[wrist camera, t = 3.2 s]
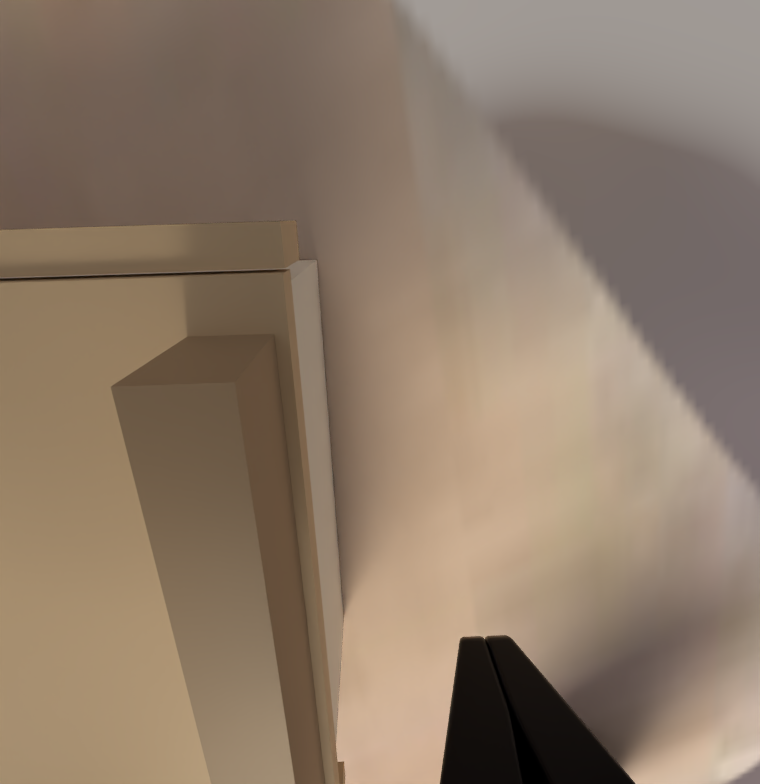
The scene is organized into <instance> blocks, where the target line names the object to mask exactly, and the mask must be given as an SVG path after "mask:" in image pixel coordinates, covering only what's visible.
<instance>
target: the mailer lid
mask: <svg viewBox="0 0 760 784" xmlns="http://www.w3.org/2000/svg"><path fill="white" fill-rule="evenodd" d="M298 260H300V259H299V247H298V236H297V225H296V221H264V222H232V223H200V224H168V225H136V226H104V227H72V228H40V229H9V230H0V784H345V769H344V762H337V753H336V742H335V732H334V721H333V711H332V700H331V690H330V680H329V669H328V659H327V648H326V638H325V627H324V617H323V607H322V596H321V586H320V575H319V565H318V555H317V544H316V534H315V523H314V513H313V502H312V492H311V482H310V471H309V461H308V450H307V440H306V429H305V419H304V409H303V398H302V388H301V377H300V367H299V356H298V346H297V336H296V325H295V315H294V304H293V294H292V284H291V273H290V269H279V268H286V267H288V266H290V265H291V264H293V263H295V262H296V261H298ZM249 269H276V270H249ZM218 270H245V271H218ZM187 271H215V272H187ZM156 272H184V273H156ZM125 273H153V274H125ZM94 274H122V275H94ZM63 275H91V276H63ZM33 276H60V277H33ZM2 277H30V278H2Z"/></svg>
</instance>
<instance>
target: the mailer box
mask: <svg viewBox="0 0 760 784" xmlns="http://www.w3.org/2000/svg"><path fill="white" fill-rule="evenodd" d="M279 269H290V273H291V284H292V294H293V304H294V315H295V325H296V336H297V346H298V356H299V367H300V377H301V388H302V398H303V409H304V419H305V429H306V440H307V450H308V461H309V471H310V482H311V492H312V502H313V513H314V523H315V534H316V544H317V555H318V565H319V575H320V586H321V596H322V607H323V617H324V627H325V638H326V648H327V659H328V669H329V680H330V690H331V700H332V711H333V721H334V732H335V742H336V735H337V719H338V703H339V687H340V671H341V655H342V639H343V623H344V614H343V601H342V588H341V574H340V561H339V548H338V535H337V521H336V508H335V495H334V482H333V468H332V455H331V442H330V429H329V415H328V402H327V389H326V375H325V362H324V349H323V336H322V322H321V309H320V296H319V283H318V269H317V260H298V261H296V262H295V263H293V264H291V265H290V266H288V267H286V268H279ZM249 270H276V269H249ZM218 271H245V270H218ZM187 272H215V271H187ZM156 273H184V272H156ZM125 274H153V273H125ZM94 275H122V274H94ZM63 276H91V275H63ZM33 277H60V276H33ZM2 278H30V277H2Z"/></svg>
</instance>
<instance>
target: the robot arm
mask: <svg viewBox="0 0 760 784" xmlns="http://www.w3.org/2000/svg"><path fill="white" fill-rule="evenodd" d="M440 784H635V782H634V781H633V780H632V779H631V778H630V777H629V775H628V774H627V773H626V772H625V771H624V770H623V768H622V767H621V766H620V765H619V764H618V763H617V761H616V760H615V759H614V758H613V757H612V755H611V754H610V753H609V752H608V751H607V750H606V748H605V747H604V746H603V745H602V744H601V743H600V741H599V740H598V739H597V738H596V737H595V736H594V734H593V733H592V732H591V731H590V730H589V729H588V727H587V726H586V725H585V724H584V723H583V721H582V720H581V719H580V718H579V717H578V716H577V714H576V713H575V712H574V711H573V710H572V709H571V707H570V706H569V705H568V704H567V703H566V702H565V700H564V699H563V698H562V697H561V696H560V695H559V693H558V692H557V691H556V690H555V689H554V688H553V686H552V685H551V684H550V683H549V682H548V680H547V679H546V678H545V677H544V676H543V675H542V673H541V672H540V671H539V670H538V669H537V668H536V666H535V665H534V664H533V663H532V662H531V661H530V659H529V658H528V657H527V656H526V655H525V654H524V652H523V651H522V650H521V649H520V648H519V646H518V645H517V644H516V643H515V642H514V641H513V640H512V638H510V637H509V636H506V635H500V636H487V637H486V638H485V639H484V638H483V637H480V636H475V637H462V638H461V639H460V643H459V650H458V657H457V664H456V671H455V678H454V686H453V693H452V700H451V707H450V714H449V722H448V729H447V736H446V743H445V750H444V758H443V765H442V772H441V779H440Z"/></svg>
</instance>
